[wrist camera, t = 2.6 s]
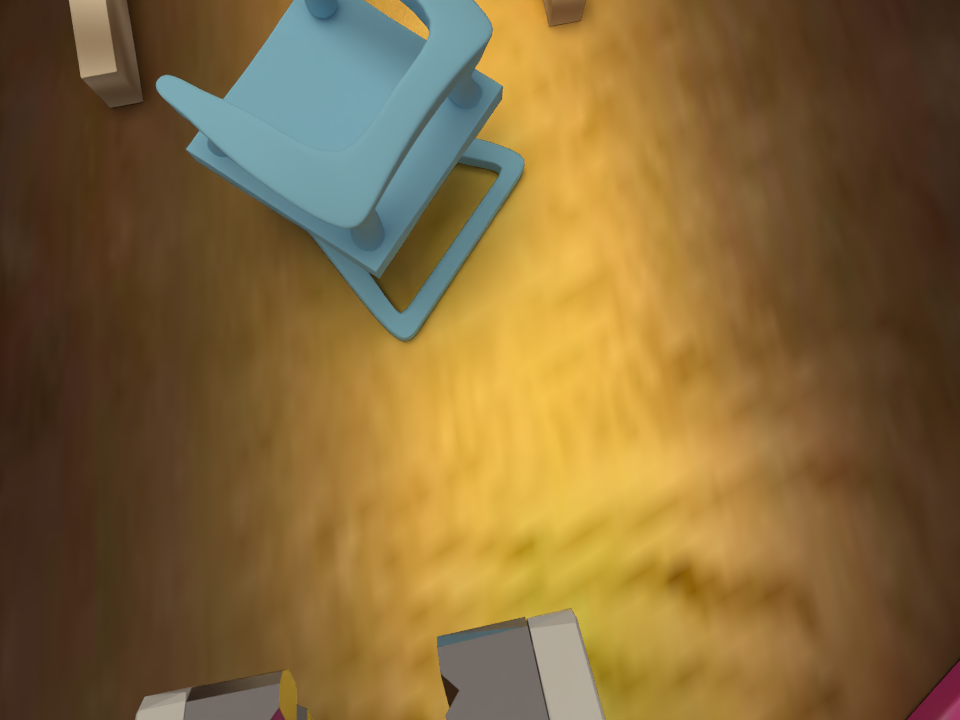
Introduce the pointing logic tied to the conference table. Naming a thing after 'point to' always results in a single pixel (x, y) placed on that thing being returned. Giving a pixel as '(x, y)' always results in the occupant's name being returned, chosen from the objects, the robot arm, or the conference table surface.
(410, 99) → the chair
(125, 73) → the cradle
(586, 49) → the conference table surface
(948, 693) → the file sorter
